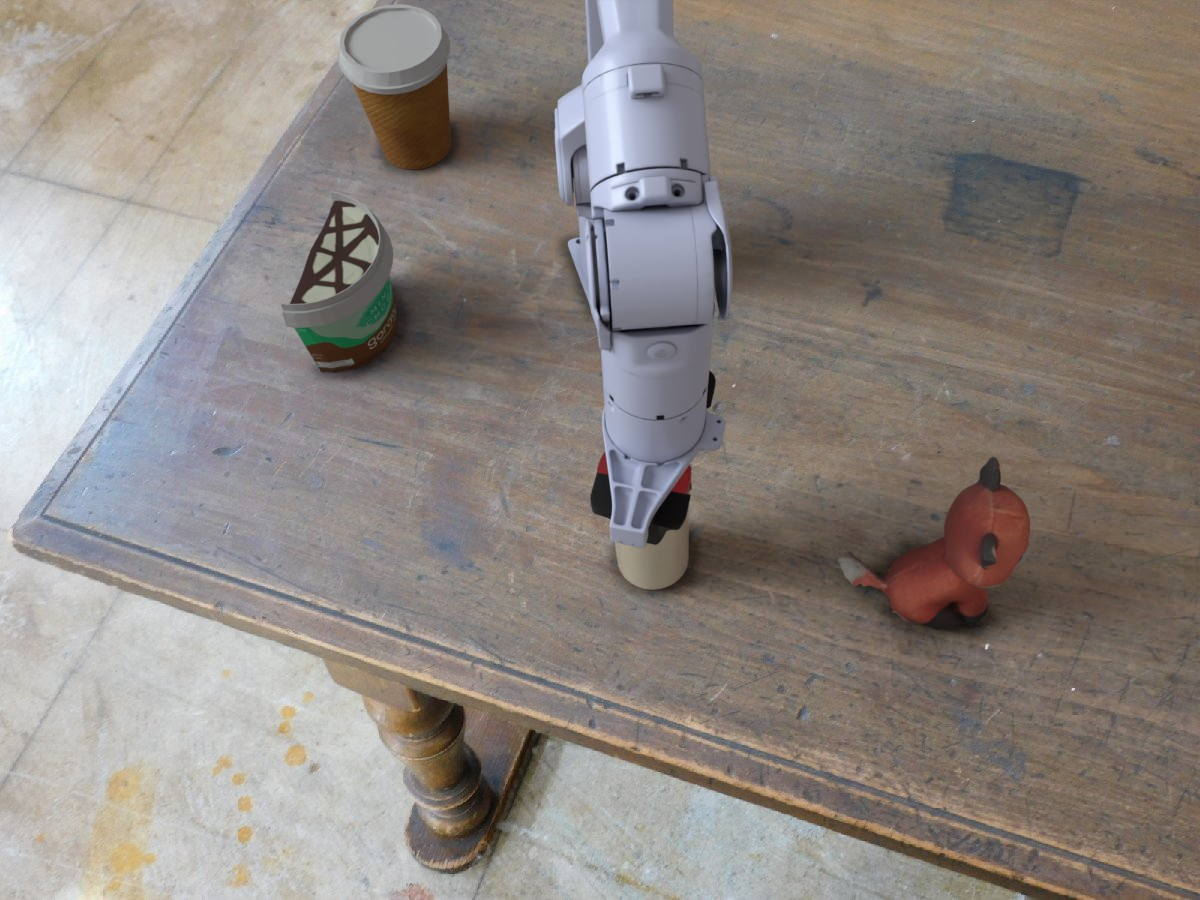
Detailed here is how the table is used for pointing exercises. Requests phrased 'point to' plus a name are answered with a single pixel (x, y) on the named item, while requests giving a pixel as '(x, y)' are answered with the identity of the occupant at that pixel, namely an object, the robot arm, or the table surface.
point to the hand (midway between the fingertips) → (653, 494)
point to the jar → (656, 559)
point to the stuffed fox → (956, 558)
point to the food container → (346, 290)
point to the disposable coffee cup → (401, 81)
